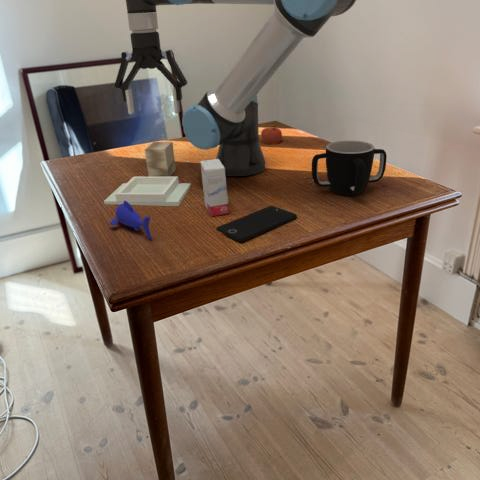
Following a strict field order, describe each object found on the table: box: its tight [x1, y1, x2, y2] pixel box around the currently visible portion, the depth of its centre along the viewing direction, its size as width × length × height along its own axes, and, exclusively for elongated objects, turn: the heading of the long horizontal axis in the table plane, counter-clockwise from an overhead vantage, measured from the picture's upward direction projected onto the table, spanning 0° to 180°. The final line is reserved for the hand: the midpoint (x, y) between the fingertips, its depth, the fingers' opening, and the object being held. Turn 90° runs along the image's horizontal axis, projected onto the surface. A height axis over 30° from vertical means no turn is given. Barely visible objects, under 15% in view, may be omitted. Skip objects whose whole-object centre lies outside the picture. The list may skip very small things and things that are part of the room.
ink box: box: [200, 158, 230, 217], centre depth 117 cm, size 9×5×12 cm, turn 13°
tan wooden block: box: [144, 141, 176, 177], centre depth 142 cm, size 6×8×10 cm
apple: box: [260, 124, 283, 145], centre depth 167 cm, size 7×7×8 cm
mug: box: [311, 140, 387, 196], centre depth 124 cm, size 16×16×12 cm
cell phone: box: [216, 205, 298, 243], centre depth 111 cm, size 9×18×1 cm, turn 131°
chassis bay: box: [103, 176, 192, 207], centre depth 129 cm, size 20×14×4 cm
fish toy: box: [109, 201, 153, 241], centre depth 109 cm, size 15×8×7 cm, turn 41°
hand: (154, 112), depth 135 cm, fingers open, 13 cm apart
